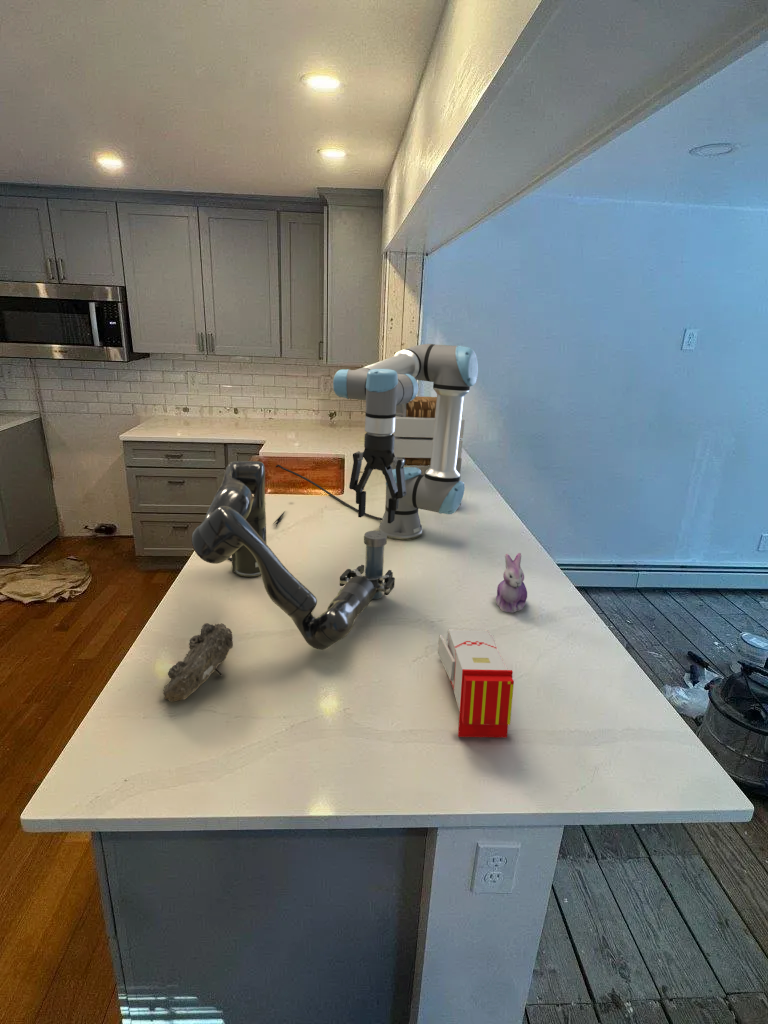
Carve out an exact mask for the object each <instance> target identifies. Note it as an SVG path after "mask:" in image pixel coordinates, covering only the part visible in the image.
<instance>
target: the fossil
mask: <svg viewBox="0 0 768 1024" xmlns="http://www.w3.org/2000/svg"><path fill="white" fill-rule="evenodd" d="M233 638H234V637H233V631H232V630H231V628H229V627H227V626H226V625H225V624H224V623H221V622H220V623H217V624H216V623H215V624H212V623H211V624H210V623H207V622H206V623H203V625H202V626H201V628H200V633H199V634H195V635H192V637H191V638H190V639H189V643H188V645H189V646H188V649H189V650H188V652H187V653H186V654H185V656H184V658H183V661H182V660H179V661H177V662H176V663H175V664H173V665H171V667H170V668H169V669H168V671H167V676H168V677H169V679H170V680H169V681H168V682H167V683H166V684H165V685H164V686H163V688H164V689H163V690H162V691H163V693H162V694H163V697H164V698H163V699H164V700H168V701H169V702H171V703H173V702H176V701H177V702H178V701H182V700H183V701H184V700H186V699H187V698H188V697H189V696H191V694H192V693H194V692H195V691H197V690H198V688H200V687H201V686H202V685H203V684H204V683H205V682H206V681H208V679H209V678H210V676H211V674H212V673H214V672H216V673H217V674H218V675H219V676H223V673H222V672H221V671H220V670H219V669H218V666H219V664H222V663H223V662H224V661H225V660H226V658H227V656H228V654H229V652H230V650H231V649H232V648H233V647H234V641H233Z"/></svg>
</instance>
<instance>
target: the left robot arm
mask: <svg viewBox="0 0 768 1024" xmlns="http://www.w3.org/2000/svg"><path fill="white" fill-rule="evenodd" d="M266 515H267V513H266V467H265V464H264V463H263V462H262V461H259V460H233V461H230V462H229V463H228V464H227V465H226V468H225V470H224V475H223V478H222V480H221V484H220V486H219V487H218V489H217V490H216V492H215V494H214V495H213V497H212V501H211V503H210V505H209V507H208V509H207V512H206V514H205V517H204V519H202V521H201V522H200V523H199V524H198V525H197V527H195V529H193V531H192V533H191V545H192V548H193V551H194V552H195V553H196V555H197V556H198V557H199V558H200V559H201V560H202V561H204V562H206V563H209V564H214V565H216V564H217V565H218V564H221V563H223V562H226V561H227V560H229V561H231V569H232V572H233V573H235V575H238V576H241V577H244V578H253V577H258V576H261V580H262V584H263V585H264V589H265V592H266V593H267V595H268V597H269V599H270V600H271V602H273V603H274V604H275V606H277V607H278V608H279V609H280V610H281V611H282V612H283V613H285V614H286V615H287V616H288V617H289V618H291V620H292V622H293V623H294V625H295V626H296V628H297V629H298V631H299V633H300V634H301V636H302V637H303V639H304V641H305V642H306V643H307V644H308V645H309V646H310V647H311V648H313V649H315V650H319V651H324V650H326V649H329V648H330V647H331V646H333V645H335V644H337V643H338V642H340V641H341V640H343V639H345V638H346V637H347V636H348V635H349V634H350V633H351V631H352V630H353V626H354V623H355V620H356V619H357V618H358V617H359V615H360V614H361V613H362V612H363V611H364V610H365V609H366V608H367V607H368V605H369V603H370V602H371V601H372V600H373V599H372V598H373V597H374V595H375V593H377V592H379V591H381V592H382V593H383V595H384V596H389V595H390V594H391V592H392V591H393V589H394V588H395V583H396V578H395V577H394V572H393V571H392V569H388V570H387V571H386V573H385V574H384V575H383V576H380V575H379V576H376V577H367V576H365V575H363V574H364V573H365V564H361V565H359V566H357V567H356V568H354V569H353V570H352V569H351V568H347V569H346V570H344V572H342V574H341V575H340V576H339V587H342V588H341V589H340V590H339V591H338V592H337V595H336V596H335V597H333V599H332V600H331V601H330V603H329V604H328V607H327V610H326V611H324V612H322V614H320V615H318V616H316V617H315V616H314V615H313V612H314V611H315V608H316V606H317V603H318V599H317V597H316V596H315V595H314V593H313V592H311V590H309V589H308V588H307V587H306V586H305V585H304V584H303V583H302V582H300V580H298V579H297V577H296V576H294V575H293V574H292V573H291V571H289V570H288V568H287V567H286V566H285V565H284V564H283V563H282V561H281V560H280V559H279V557H278V556H277V555H276V554H275V553H274V551H273V550H272V549H271V548H270V547H269V545H268V544H267V516H266ZM377 580H378V582H377Z"/></svg>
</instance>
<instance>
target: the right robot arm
mask: <svg viewBox="0 0 768 1024" xmlns="http://www.w3.org/2000/svg"><path fill="white" fill-rule="evenodd" d="M478 375H479V363H478V356H477V354H476V352H475V350H474V349H473V348H472V347H470V346H463V345H451V344H450V345H449V344H436V343H435V344H434V343H423V344H417V345H413V346H409V347H405V348H403V349H400V350H398V351H397V352H396V353H395V354H394V355H393V356H390V357H388V358H385V359H382V360H380V361H377V362H374V363H371V364H369V365H365V366H363V367H360V368H357V369H350V368H347V369H343V368H342V369H339V370H337V371H336V373H335V374H334V376H333V379H332V380H333V381H332V388H333V392H334V394H335V395H336V396H337V397H339V398H344V399H347V400H356V401H357V400H359V401H365V415H364V417H365V418H364V431H365V434H364V440H363V441H364V442H363V447H364V449H363V451H359V450H358V451H356V452H354V453H352V461H353V463H352V469H351V475H350V479H349V485H348V488H349V490H353V491H354V492H355V504H356V505H358V507H357V508H356V507H354V506H353V505H351V504H349V503H347V502H346V501H343V500H342V499H341V498H339V497H337V496H336V495H334V494H333V493H331V491H328V490H327V489H325V488H324V487H322V486H320V485H319V484H318V483H316V482H314V481H312V480H311V479H309V478H307V477H305V476H303V475H301V474H300V473H297V472H295V471H292V470H290V469H288V468H285V467H284V466H282V465H280V464H276V465H275V468H280V469H282V470H284V471H286V472H288V473H291V474H293V475H294V476H296V477H298V478H301V479H303V480H304V481H306V482H307V483H309V484H311V485H313V486H315V487H316V488H318V489H320V490H321V491H322V492H325V493H326V494H327V495H329V496H330V497H332V498H333V499H334V500H336V501H338V502H340V503H341V504H342V505H344V506H346V507H348V508H349V509H351V510H352V511H355V512H357V513H358V514H357V517H358V518H360V519H361V518H362V517H364V516H365V517H368V518H370V519H373V520H377V521H381V522H379V526H378V531H381V532H384V533H386V535H387V539H389V540H395V541H410V540H415V539H418V538H420V537H421V536H422V535H423V525H422V524H421V518H420V515H419V510H423V511H427V512H434V513H437V514H440V515H442V514H444V515H453V514H454V513H456V512H457V510H458V509H459V508H460V506H461V505H460V503H461V504H462V502H463V501H462V500H463V497H464V494H465V489H466V487H465V482H464V481H462V480H461V474H459V473H458V472H457V470H456V464H457V455H458V446H459V437H460V428H461V419H463V408H464V399H465V396H466V395H467V394H468V393H469V392H470V388H471V387H473V386H475V385H476V383H477V381H478V380H477V379H478ZM418 381H423V382H430V383H432V390H434V392H435V393H436V397H437V401H436V411H435V421H434V432H433V442H432V453H431V463H430V466H429V467H428V468H427V469H426V470H424V474H422V470H421V468H419V467H415V466H411V467H410V466H406V467H405V465H404V464H405V459H404V458H402V459H400V458H397V457H395V455H394V439H395V436H394V434H392V433H394V432H395V417H396V406H397V405H401V404H405V403H408V402H409V401H412V400H413V399H414V398H415V397H417V395H418V392H419V383H418ZM363 459H364V460H365V462H366V465H365V466H364V468H363V469H364V470H363V472H362V474H361V469H362V464H363V463H362V462H363ZM392 462H394V463H395V466H396V469H393V470H392V467H391V463H392ZM373 470H378V471H380V472H381V473H382V475H383V476H384V478H385V504H384V505H385V507H384V508H385V509H384V513H383V515H382V517H378V516H376V515H372V514H369V513H367V512H366V504H367V491H365V487H366V485H367V482H368V480H369V478H370V476H371V475H372V472H373ZM360 474H361V476H360ZM459 479H460V481H459ZM459 505H460V506H459Z"/></svg>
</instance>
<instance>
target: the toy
mask: <svg viewBox="0 0 768 1024" xmlns="http://www.w3.org/2000/svg"><path fill="white" fill-rule="evenodd" d="M446 640H447V643H446V641H445V639H444V636H443V635H442V634H439V637H438V646H437V656H438V657H439V659H440V661H441V663H442V666H443V668H444V670H445V672H446V674H447V677H448V679H449V681H450V684H451V687H452V690H453V693H454V697H455V701H456V705H457V708H458V711H459V714H458V715H459V716H458V730H457V731H458V732H457V737H458V738H508V731H509V726H510V725H511V717H512V707H513V697H514V696H513V695H514V684H515V680H514V679H513V673H514V671H513V670H512V669H508V667H507V665H506V662H505V661H504V659H503V658H502V655H501V653H500V651H499V649H498V647H497V643H496V639H495V637H494V635H493V634H491V632H490V631H489V629H467V628H466V629H465V628H463V629H461V628H460V629H459V628H448V630H447V639H446Z"/></svg>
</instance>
